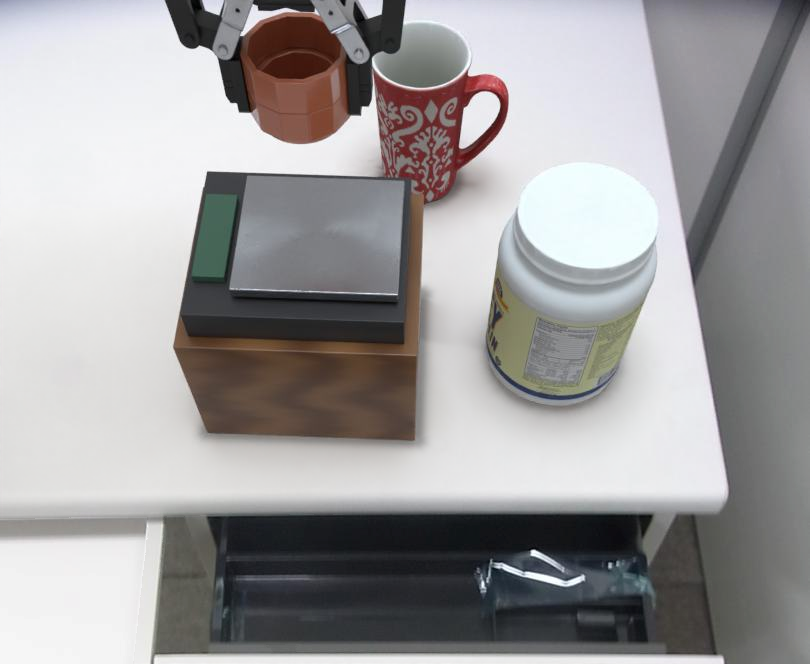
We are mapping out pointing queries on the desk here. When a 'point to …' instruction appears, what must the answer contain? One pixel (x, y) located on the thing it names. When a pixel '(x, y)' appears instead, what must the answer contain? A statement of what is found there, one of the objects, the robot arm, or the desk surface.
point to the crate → (310, 375)
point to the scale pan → (319, 239)
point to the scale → (276, 317)
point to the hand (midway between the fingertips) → (301, 104)
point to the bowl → (295, 77)
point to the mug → (429, 106)
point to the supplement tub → (571, 282)
